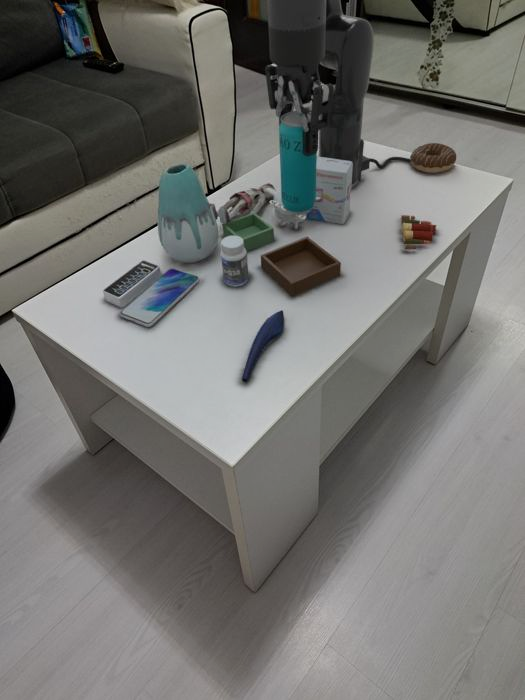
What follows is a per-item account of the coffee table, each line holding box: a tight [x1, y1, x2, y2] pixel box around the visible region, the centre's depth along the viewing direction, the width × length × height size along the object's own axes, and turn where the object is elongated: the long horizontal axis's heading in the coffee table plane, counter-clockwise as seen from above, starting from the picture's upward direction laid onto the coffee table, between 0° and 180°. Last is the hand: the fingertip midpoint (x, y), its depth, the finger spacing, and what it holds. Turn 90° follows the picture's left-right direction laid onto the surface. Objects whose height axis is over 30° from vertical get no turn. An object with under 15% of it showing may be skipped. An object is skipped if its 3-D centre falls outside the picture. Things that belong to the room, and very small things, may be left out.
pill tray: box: [221, 213, 275, 253], centre depth 102 cm, size 8×8×3 cm
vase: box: [157, 162, 219, 263], centre depth 94 cm, size 12×12×18 cm
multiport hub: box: [102, 260, 163, 309], centre depth 92 cm, size 4×11×2 cm, turn 147°
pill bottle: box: [220, 236, 250, 287], centre depth 90 cm, size 5×5×8 cm
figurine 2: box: [266, 188, 320, 230], centre depth 103 cm, size 12×8×10 cm
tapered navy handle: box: [241, 310, 285, 383], centre depth 79 cm, size 16×4×2 cm, turn 157°
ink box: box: [305, 155, 353, 225], centre depth 103 cm, size 9×5×12 cm, turn 68°
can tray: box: [260, 236, 342, 298], centre depth 93 cm, size 11×11×3 cm
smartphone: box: [119, 268, 200, 328], centre depth 90 cm, size 7×1×15 cm
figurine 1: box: [209, 182, 276, 224], centre depth 107 cm, size 6×6×20 cm
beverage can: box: [278, 110, 318, 215], centre depth 79 cm, size 6×6×15 cm
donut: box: [409, 142, 457, 174], centre depth 119 cm, size 11×11×4 cm
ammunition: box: [400, 214, 437, 250], centre depth 99 cm, size 12×2×6 cm
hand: (298, 146), depth 77 cm, fingers closed on beverage can, 5 cm apart
